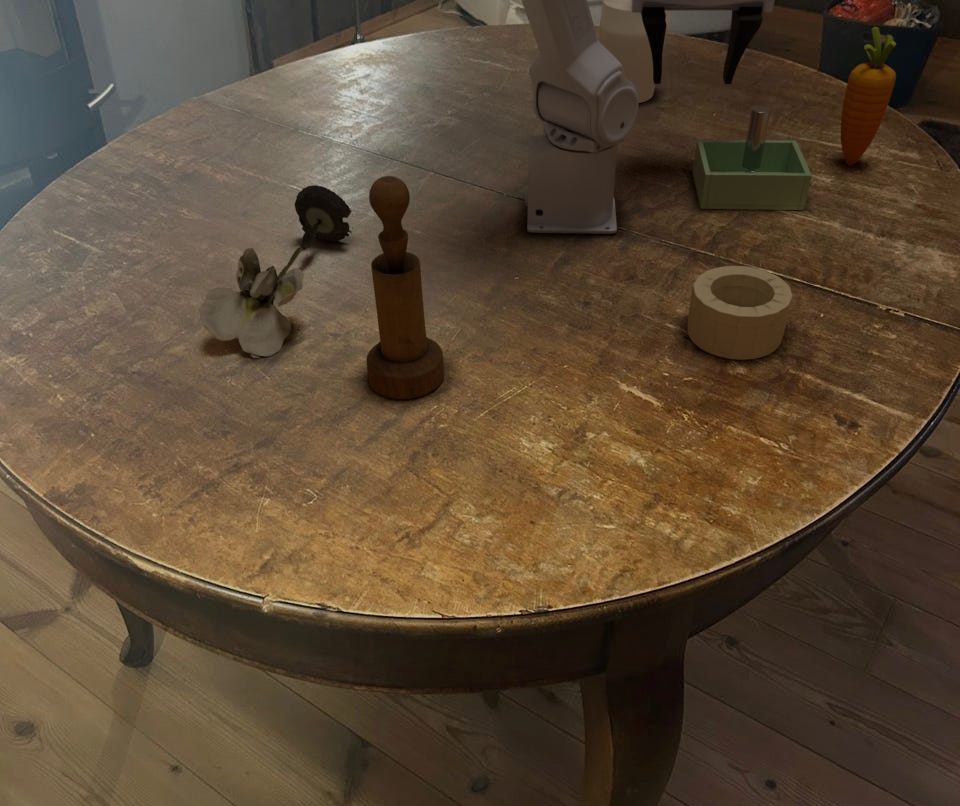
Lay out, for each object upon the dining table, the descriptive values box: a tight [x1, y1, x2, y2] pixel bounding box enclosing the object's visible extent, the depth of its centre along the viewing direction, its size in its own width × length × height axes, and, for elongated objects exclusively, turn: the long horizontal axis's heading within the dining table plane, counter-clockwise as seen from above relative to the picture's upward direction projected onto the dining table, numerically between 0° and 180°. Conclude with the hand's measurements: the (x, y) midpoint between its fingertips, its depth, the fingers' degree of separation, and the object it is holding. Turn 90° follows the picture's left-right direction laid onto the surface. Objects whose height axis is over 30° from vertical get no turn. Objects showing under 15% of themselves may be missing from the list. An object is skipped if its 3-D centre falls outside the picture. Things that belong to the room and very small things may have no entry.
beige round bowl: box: [686, 265, 794, 361], centre depth 83 cm, size 8×8×4 cm
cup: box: [599, 0, 671, 104], centre depth 123 cm, size 9×9×12 cm
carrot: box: [840, 26, 897, 167], centre depth 104 cm, size 5×5×15 cm
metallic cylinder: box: [742, 104, 772, 173], centre depth 102 cm, size 2×3×9 cm
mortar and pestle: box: [366, 175, 445, 400], centre depth 74 cm, size 7×6×18 cm
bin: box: [692, 139, 813, 211], centre depth 104 cm, size 11×9×4 cm
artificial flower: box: [198, 185, 354, 359], centre depth 88 cm, size 9×22×10 cm, turn 160°
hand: (691, 80), depth 102 cm, fingers open, 7 cm apart
